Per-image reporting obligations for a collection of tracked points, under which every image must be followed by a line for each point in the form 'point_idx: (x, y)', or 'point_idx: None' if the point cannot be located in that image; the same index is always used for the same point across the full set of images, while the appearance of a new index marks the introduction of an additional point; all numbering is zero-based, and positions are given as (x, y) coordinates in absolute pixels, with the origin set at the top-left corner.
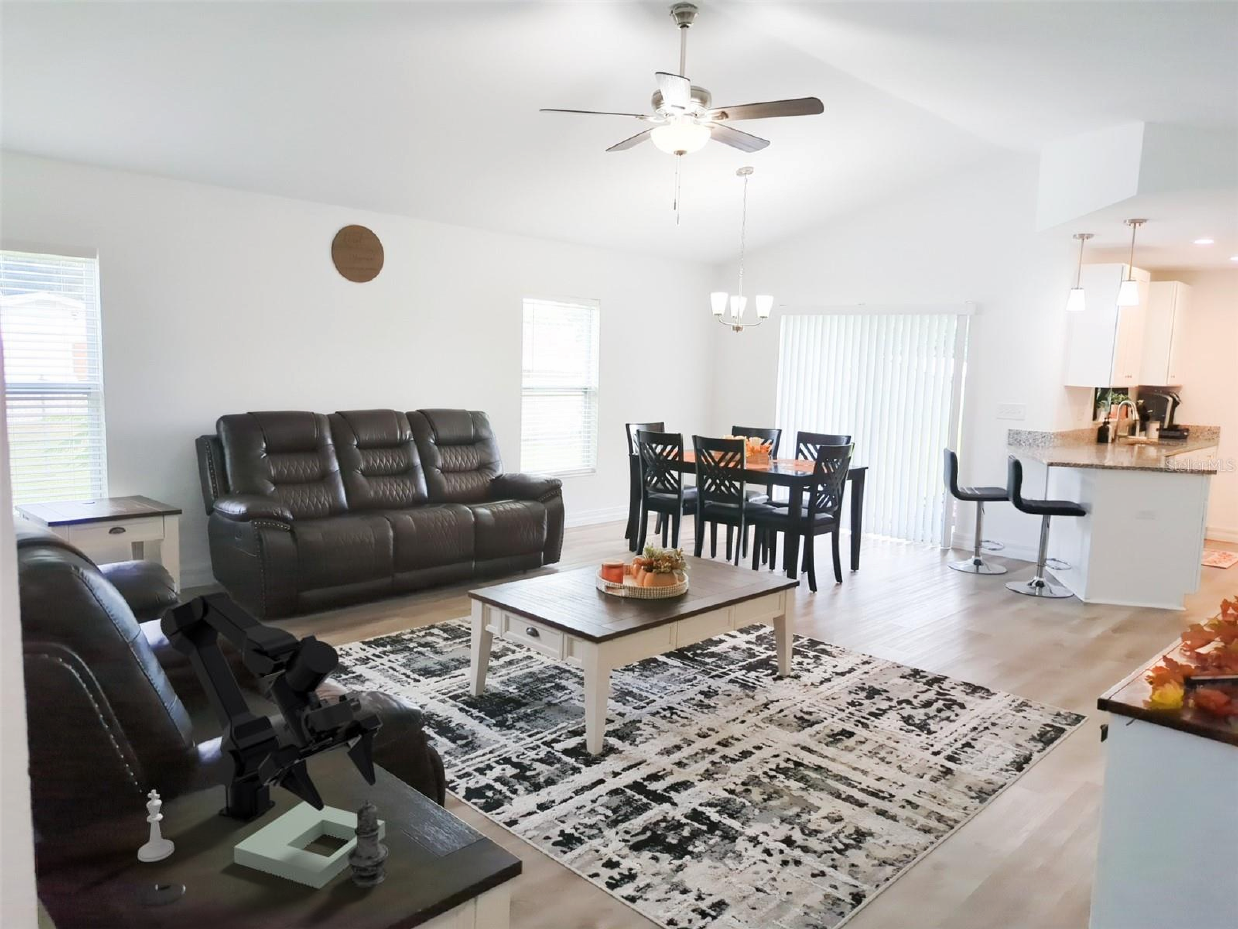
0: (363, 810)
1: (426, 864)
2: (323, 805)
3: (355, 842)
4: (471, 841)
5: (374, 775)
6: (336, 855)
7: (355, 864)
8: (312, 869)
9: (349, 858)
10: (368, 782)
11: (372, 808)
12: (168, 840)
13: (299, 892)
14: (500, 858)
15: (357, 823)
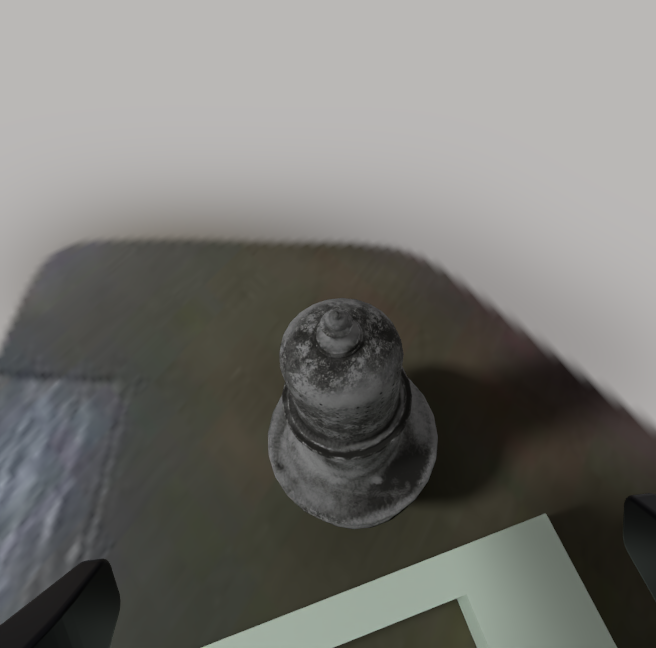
0: (377, 323)
1: (183, 381)
2: (638, 499)
3: (311, 618)
4: (4, 384)
5: (40, 597)
6: (431, 582)
7: (426, 404)
8: (563, 559)
9: (428, 453)
10: (105, 644)
11: (324, 307)
12: None
13: (597, 565)
14: (44, 264)
15: (398, 391)
